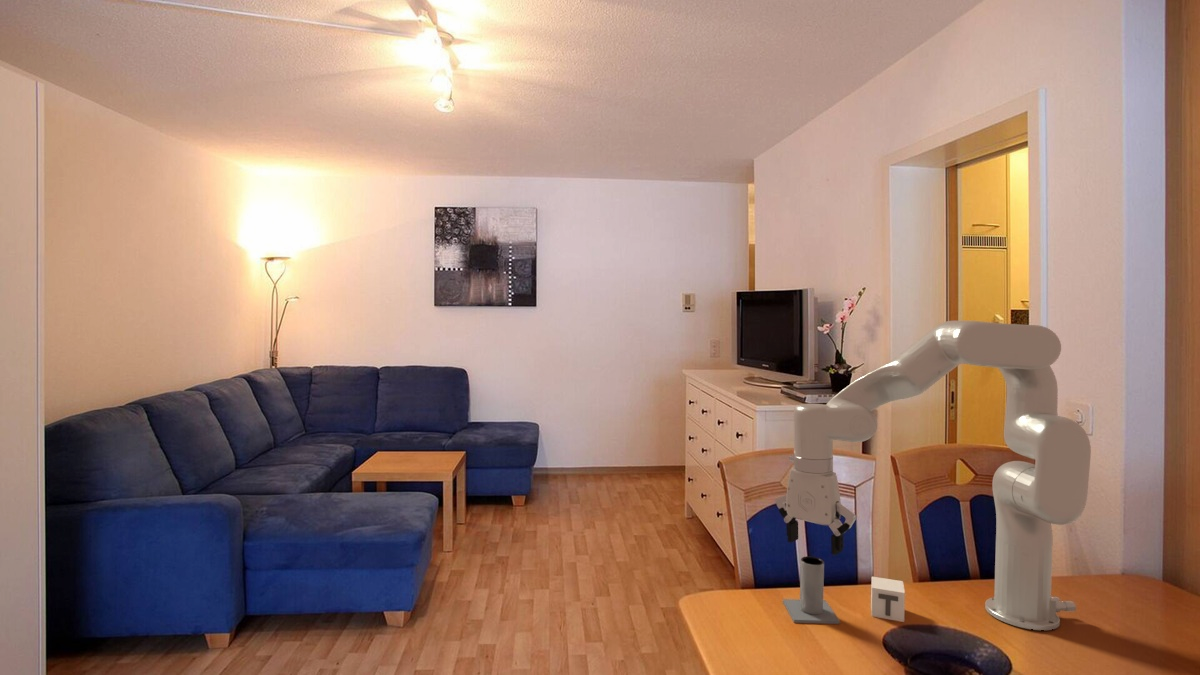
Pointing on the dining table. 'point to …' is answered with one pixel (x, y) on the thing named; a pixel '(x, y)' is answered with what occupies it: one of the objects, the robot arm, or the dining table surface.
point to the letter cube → (887, 599)
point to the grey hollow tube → (811, 585)
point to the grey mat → (803, 617)
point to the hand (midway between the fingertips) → (814, 546)
